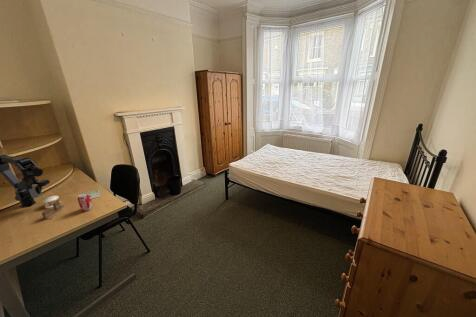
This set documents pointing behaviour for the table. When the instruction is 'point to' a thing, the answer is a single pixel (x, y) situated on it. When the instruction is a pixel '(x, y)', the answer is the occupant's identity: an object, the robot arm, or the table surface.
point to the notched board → (52, 211)
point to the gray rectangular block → (34, 192)
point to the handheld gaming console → (93, 194)
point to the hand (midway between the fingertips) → (36, 194)
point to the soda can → (84, 202)
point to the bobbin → (50, 201)
